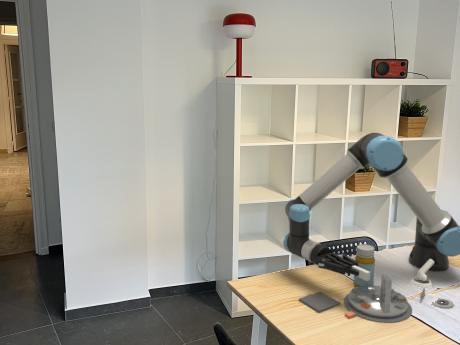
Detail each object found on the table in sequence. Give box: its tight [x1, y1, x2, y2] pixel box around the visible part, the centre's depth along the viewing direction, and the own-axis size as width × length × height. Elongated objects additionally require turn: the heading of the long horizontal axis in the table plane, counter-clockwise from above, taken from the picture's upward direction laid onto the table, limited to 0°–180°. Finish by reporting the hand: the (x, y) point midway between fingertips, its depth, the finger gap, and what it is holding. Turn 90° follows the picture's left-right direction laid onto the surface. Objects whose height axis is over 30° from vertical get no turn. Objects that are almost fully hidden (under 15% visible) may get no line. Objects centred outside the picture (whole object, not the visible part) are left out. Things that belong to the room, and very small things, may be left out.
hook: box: [410, 259, 434, 289], centre depth 166 cm, size 8×12×7 cm
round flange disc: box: [348, 274, 409, 319], centre depth 149 cm, size 19×19×13 cm
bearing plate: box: [343, 293, 413, 324], centre depth 151 cm, size 22×22×1 cm
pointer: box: [344, 311, 357, 320], centre depth 144 cm, size 3×2×1 cm, turn 122°
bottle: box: [353, 243, 376, 287], centre depth 164 cm, size 7×7×15 cm
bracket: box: [419, 288, 455, 309], centre depth 152 cm, size 7×10×3 cm, turn 57°
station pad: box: [298, 290, 342, 314], centre depth 153 cm, size 10×10×1 cm
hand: (368, 276), depth 143 cm, fingers closed
